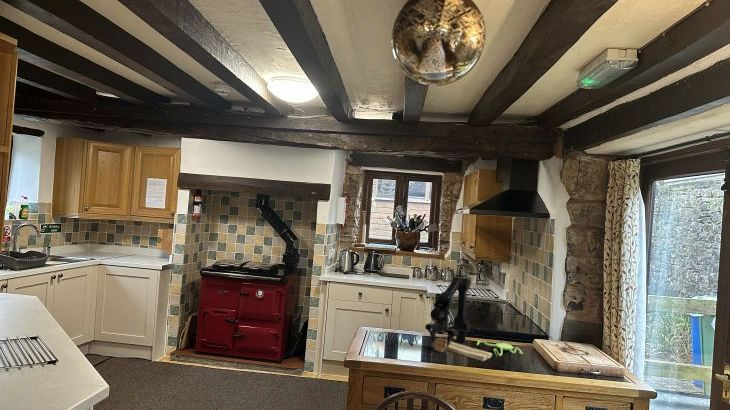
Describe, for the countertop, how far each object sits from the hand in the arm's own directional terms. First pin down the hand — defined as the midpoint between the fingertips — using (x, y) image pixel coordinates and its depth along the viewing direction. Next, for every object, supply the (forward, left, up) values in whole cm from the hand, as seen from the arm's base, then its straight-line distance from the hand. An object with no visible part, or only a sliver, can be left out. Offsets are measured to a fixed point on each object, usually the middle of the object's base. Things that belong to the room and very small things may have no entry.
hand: (440, 344), depth 271 cm
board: (-9, +11, -3) cm, 14 cm away
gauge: (-4, 0, -3) cm, 5 cm away
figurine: (-28, +23, -4) cm, 37 cm away
